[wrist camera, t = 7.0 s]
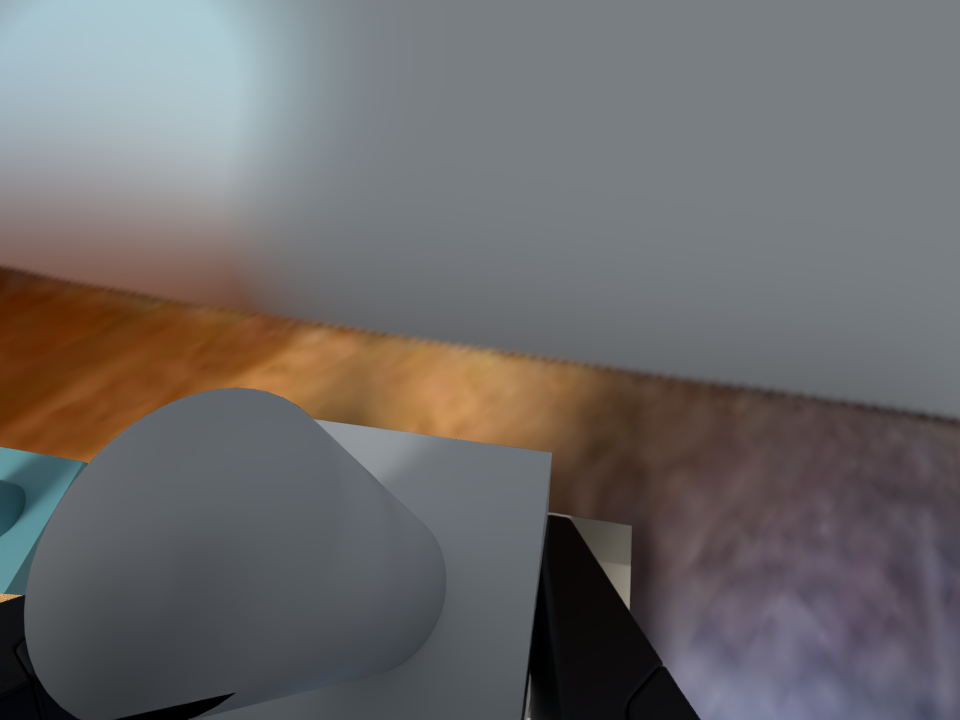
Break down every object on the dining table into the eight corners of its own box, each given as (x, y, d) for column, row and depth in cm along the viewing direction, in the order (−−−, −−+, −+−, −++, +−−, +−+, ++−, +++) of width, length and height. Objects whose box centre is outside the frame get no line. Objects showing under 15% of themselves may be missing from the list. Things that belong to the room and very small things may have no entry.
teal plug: (262, 528, 22) (-27, 420, 11) (230, 610, 20) (-148, 582, 9) (198, 516, 23) (-137, 402, 11) (163, 594, 21) (-268, 551, 10)
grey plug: (529, 701, 12) (434, 1297, 1) (407, 672, 13) (-381, 895, 2) (544, 563, 14) (562, 289, 3) (435, 543, 15) (99, 254, 4)
